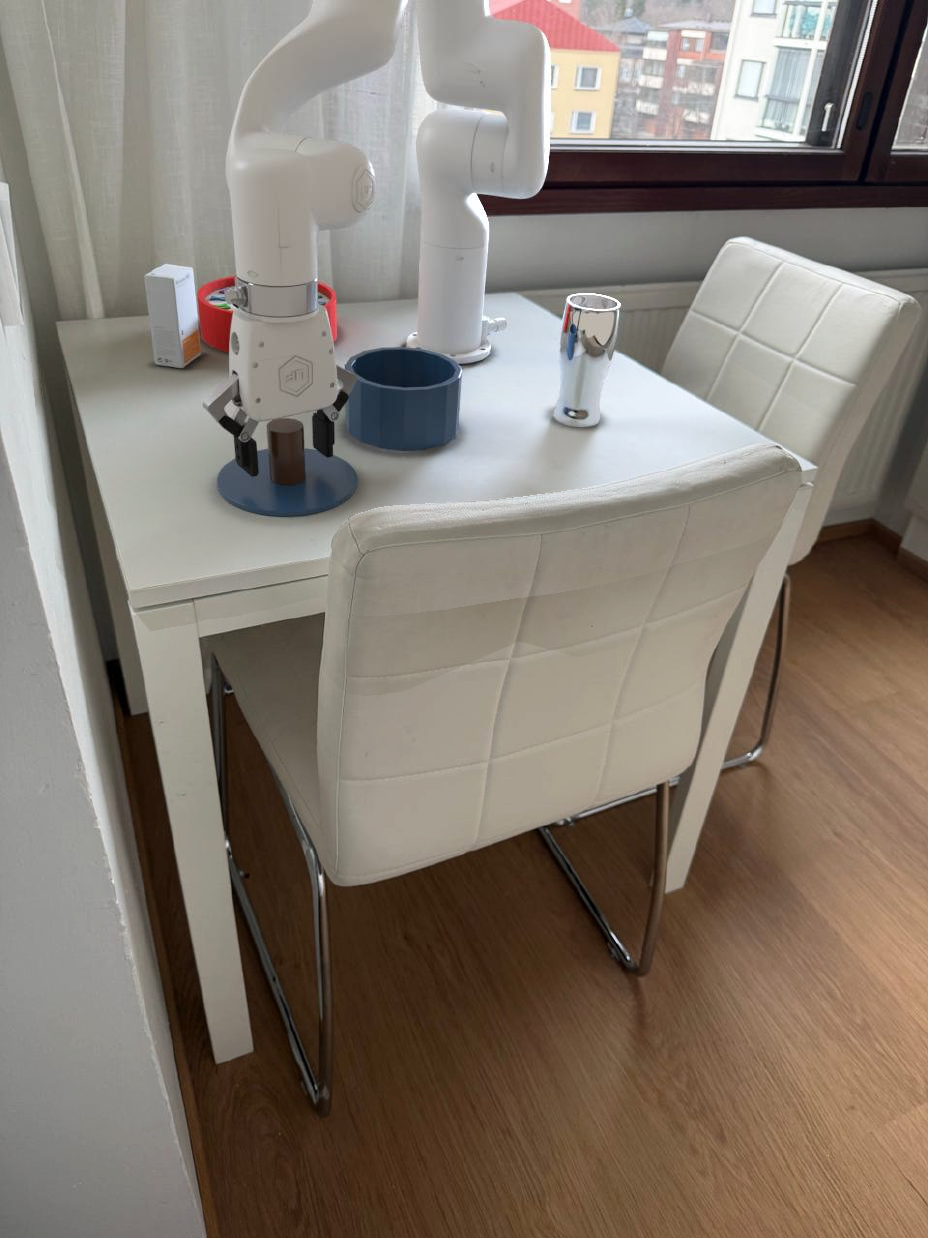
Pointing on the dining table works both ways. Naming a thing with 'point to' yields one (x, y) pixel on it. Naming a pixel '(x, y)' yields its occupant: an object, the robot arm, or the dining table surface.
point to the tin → (403, 398)
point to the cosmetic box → (173, 315)
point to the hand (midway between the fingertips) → (286, 461)
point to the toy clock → (219, 313)
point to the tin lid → (288, 476)
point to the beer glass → (585, 356)
